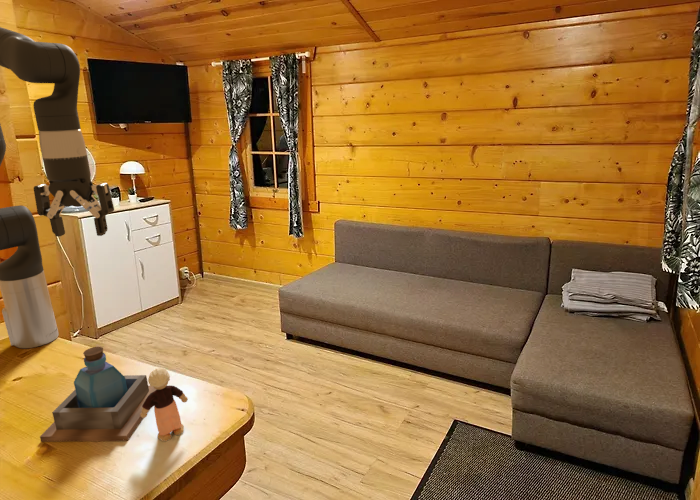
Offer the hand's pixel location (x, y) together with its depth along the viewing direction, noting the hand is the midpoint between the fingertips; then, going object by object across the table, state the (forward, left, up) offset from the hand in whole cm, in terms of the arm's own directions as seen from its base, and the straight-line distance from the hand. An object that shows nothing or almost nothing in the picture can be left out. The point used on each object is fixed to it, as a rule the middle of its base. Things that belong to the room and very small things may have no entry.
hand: (81, 235), depth 97 cm
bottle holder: (+9, -18, -30) cm, 36 cm away
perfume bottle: (+9, -18, -29) cm, 35 cm away
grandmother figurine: (+23, -24, -30) cm, 45 cm away
